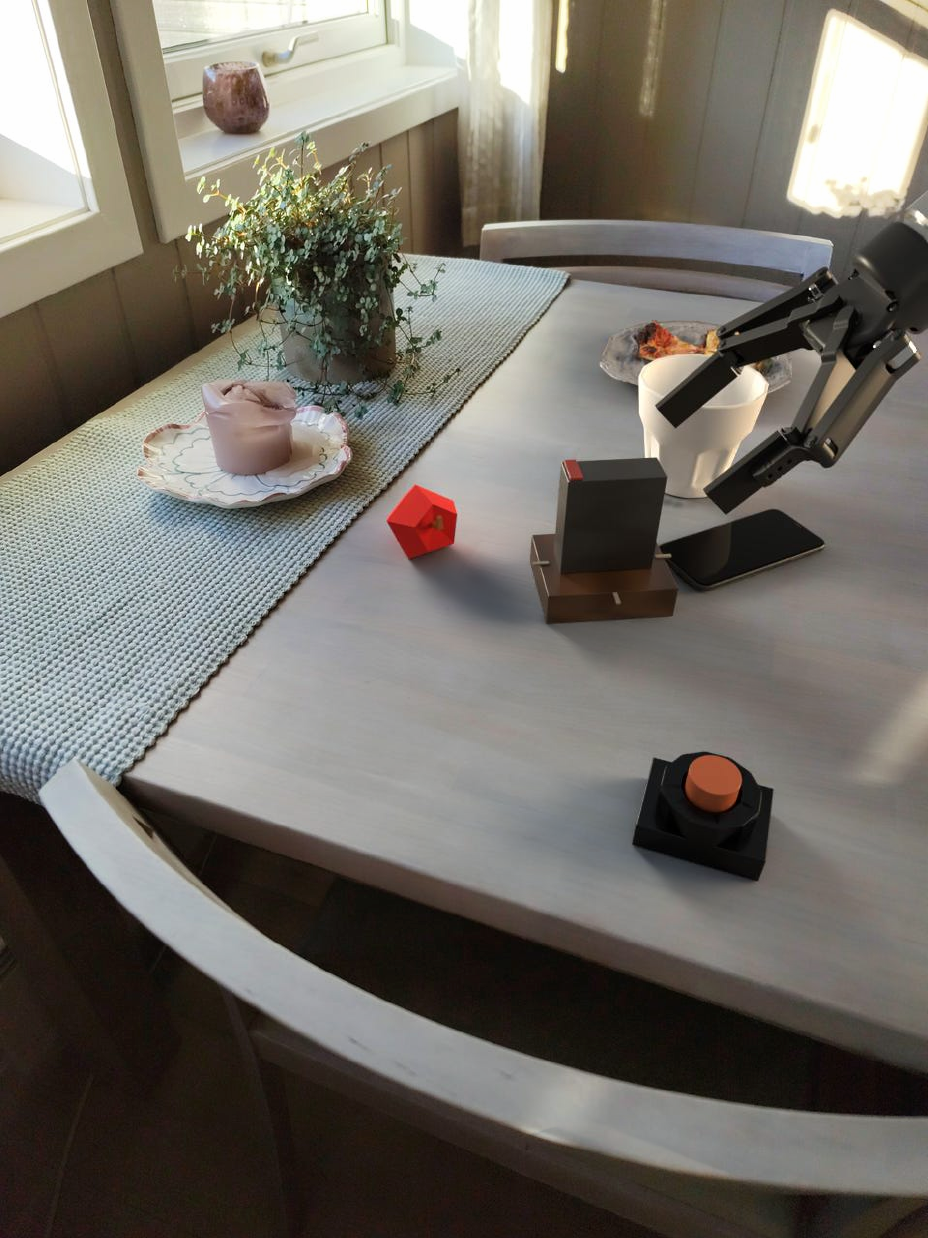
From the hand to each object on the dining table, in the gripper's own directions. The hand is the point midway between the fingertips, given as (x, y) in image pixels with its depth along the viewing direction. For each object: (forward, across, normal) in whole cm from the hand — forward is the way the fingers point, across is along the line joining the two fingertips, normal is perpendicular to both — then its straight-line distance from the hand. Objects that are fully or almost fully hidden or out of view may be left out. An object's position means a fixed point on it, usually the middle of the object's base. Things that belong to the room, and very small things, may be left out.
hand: (687, 456), depth 69 cm
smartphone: (+3, +4, -15) cm, 16 cm away
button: (+10, -26, -3) cm, 28 cm away
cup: (+4, +18, -14) cm, 23 cm away
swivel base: (+13, 0, -5) cm, 14 cm away
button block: (+12, -26, -6) cm, 29 cm away
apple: (+24, +7, +6) cm, 26 cm away
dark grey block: (+11, 0, -3) cm, 11 cm away
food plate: (-2, +43, -20) cm, 48 cm away
